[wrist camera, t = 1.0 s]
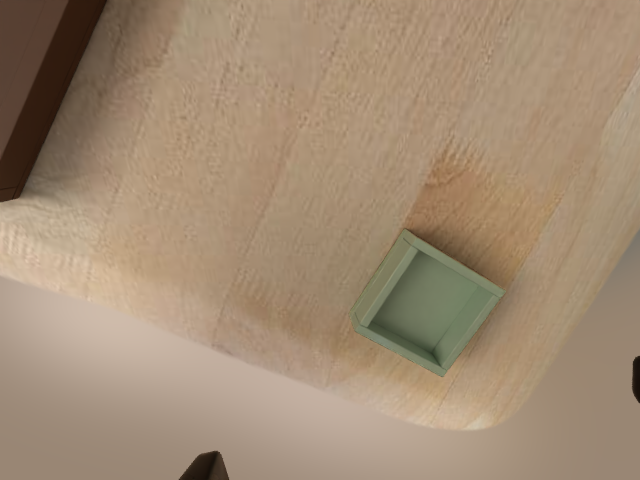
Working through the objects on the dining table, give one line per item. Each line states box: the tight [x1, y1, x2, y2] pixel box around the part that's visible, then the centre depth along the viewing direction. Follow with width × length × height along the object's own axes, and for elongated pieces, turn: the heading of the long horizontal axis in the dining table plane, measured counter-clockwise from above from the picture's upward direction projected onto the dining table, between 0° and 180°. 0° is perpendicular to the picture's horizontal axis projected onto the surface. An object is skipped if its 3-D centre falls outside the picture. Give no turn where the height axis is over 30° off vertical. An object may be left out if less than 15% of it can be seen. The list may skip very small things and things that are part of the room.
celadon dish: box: [349, 229, 506, 377], centre depth 22 cm, size 6×6×2 cm
